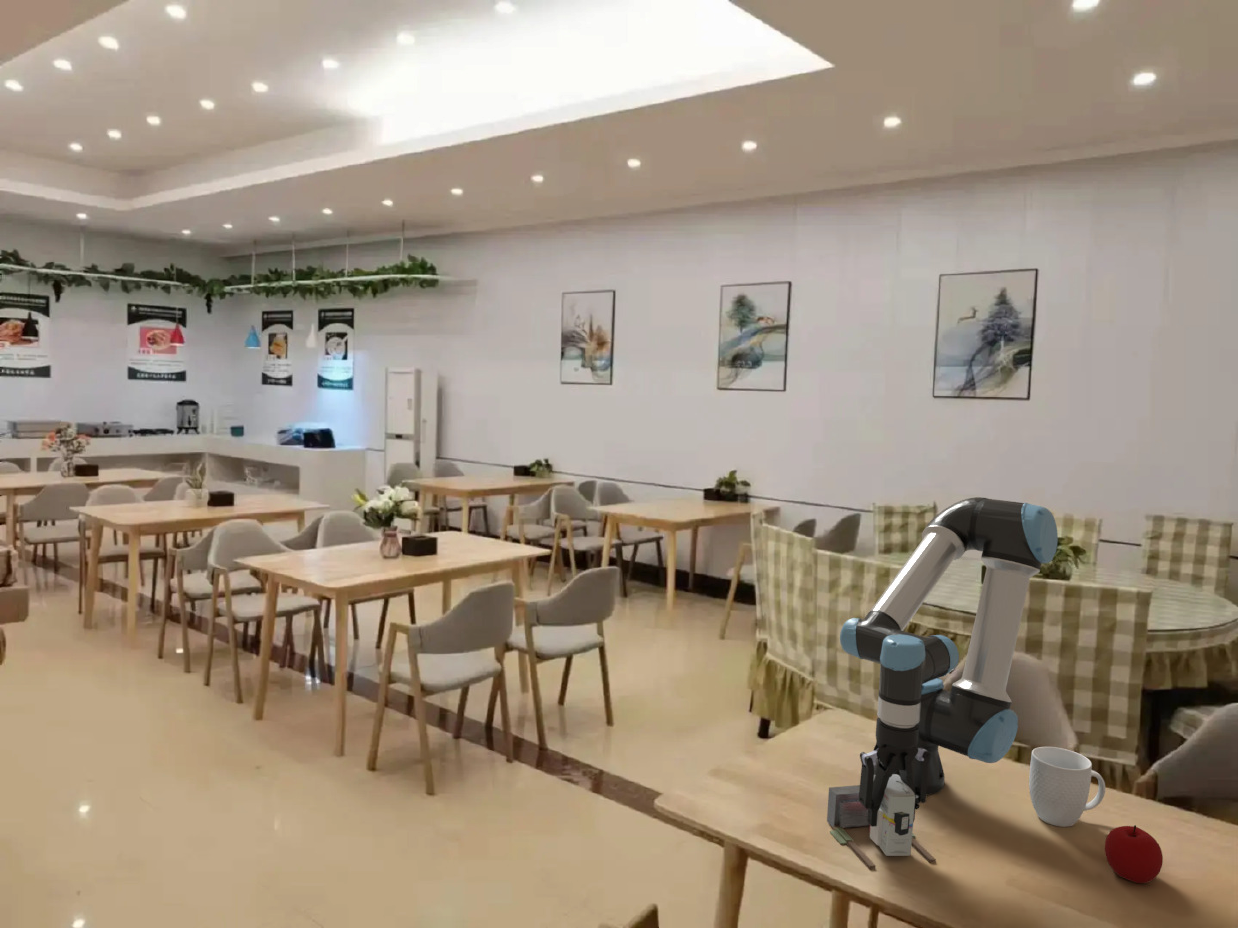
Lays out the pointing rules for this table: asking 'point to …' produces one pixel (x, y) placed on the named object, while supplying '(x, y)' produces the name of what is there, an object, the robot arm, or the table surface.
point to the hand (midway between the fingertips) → (889, 839)
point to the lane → (846, 839)
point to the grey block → (846, 807)
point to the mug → (1061, 785)
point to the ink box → (897, 818)
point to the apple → (1133, 854)
